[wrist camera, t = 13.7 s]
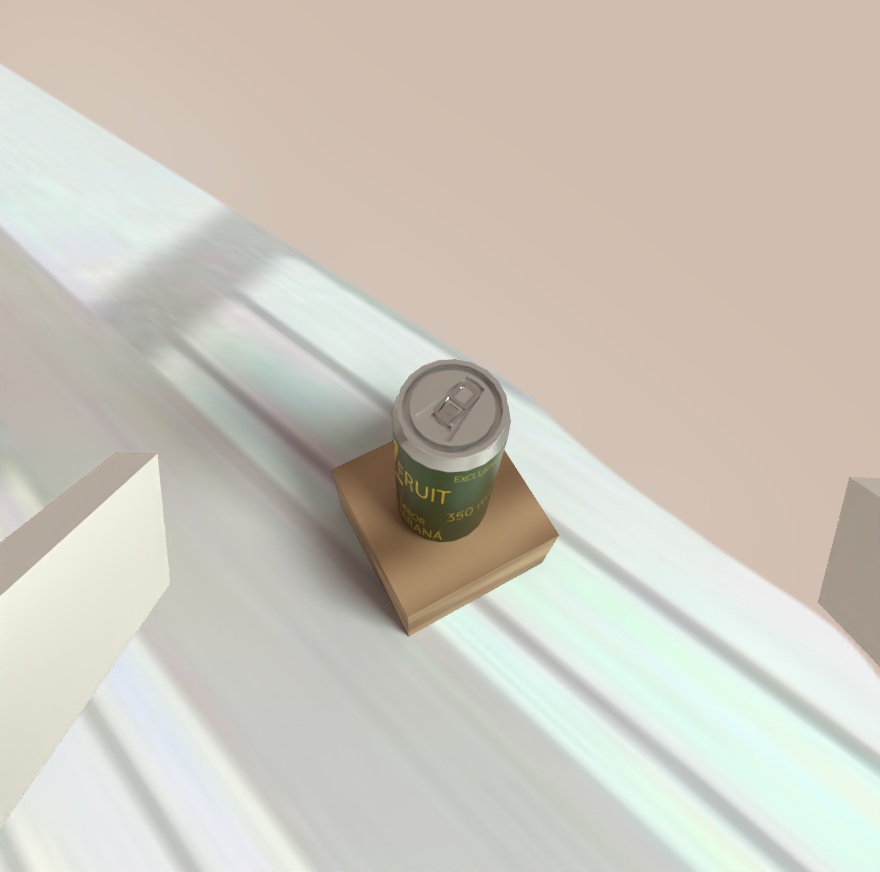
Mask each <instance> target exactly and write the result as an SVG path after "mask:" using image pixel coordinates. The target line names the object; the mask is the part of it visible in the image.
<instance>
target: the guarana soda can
mask: <svg viewBox="0 0 880 872" xmlns="http://www.w3.org/2000/svg"><path fill="white" fill-rule="evenodd" d="M392 422H393V440H394V458H395V476H396V494H397V508H398V511H399V513H400V515H401V518H402V520H403V522H404V523H405V524H406V525H407V526H408V527H409V528H410V530H411V531H412V532H414V533H415V534H417V535H419V536H421V537H422V538H424V539H427V540H431V541H435V542H451V541H456V540H458V539H461V538H463V537H466V536H468V535H469V534H470V533H471V532H472V531H474V530H475V529H476V528H477V527H478V526H479V524H480V523H481V521H482V519H483V518H484V516H485V514H486V511H487V507H488V504H489V500H490V497H491V493H492V490H493V487H494V483H495V480H496V476H497V473H498V469H499V466H500V462H501V459H502V456H503V452H504V449H505V445H506V442H507V438H508V434H509V429H510V423H511V420H510V413H509V407H508V404H507V398H506V394H505V393H504V391H503V389H502V387H501V385H500V383H499V382H498V381H497V380H496V379H495V378H494V377H493V376H492V375H491V374H490V373H489V372H488V371H487V370H485V369H483V368H481V367H479V366H477V365H475V364H473V363H470V362H466V361H461V360H456V359H454V360H438V361H436V362H433V363H430V364H427V365H424V366H422V367H421V368H419V369H418V370H417V371H415V372H414V373H413V374H411V375H410V376H409V377H408V379H407V380H406V382H405V383H404V384H403V386H402V387H401V389H400V393H399V395H398V396H397V398H396V401H395V405H394V408H393V412H392Z"/></svg>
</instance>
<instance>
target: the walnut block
mask: <svg viewBox="0 0 880 872" xmlns="http://www.w3.org/2000/svg"><path fill="white" fill-rule="evenodd" d="M332 473H333V477H334V480H335V484H336V488H337V491H338V495H339V499H340V502H341V505H342V507H343V509H344V511H345V513H346V515H347V517H348V519H349V521H350V523H351V525H352V527H353V529H354V531H355V533H356V534H357V536H358V538H359V540H360V542H361V544H362V546H363V548H364V550H365V552H366V554H367V556H368V558H369V560H370V562H371V564H372V566H373V568H374V570H375V571H376V573H377V575H378V577H379V579H380V581H381V583H382V585H383V587H384V589H385V591H386V593H387V595H388V597H389V599H390V601H391V603H392V605H393V607H394V608H395V610H396V612H397V614H398V616H399V618H400V620H401V622H402V624H403V626H404V628H405V630H406V632H407V634H408V636H410V635H412V634H414V633H415V632H417V631H419V630H421V629H423V628H424V627H426V626H428V625H430V624H432V623H434V622H435V621H437V620H439V619H441V618H443V617H444V616H446V615H448V614H450V613H452V612H453V611H455V610H457V609H459V608H461V607H463V606H464V605H466V604H468V603H470V602H472V601H473V600H475V599H477V598H479V597H481V596H482V595H484V594H486V593H488V592H490V591H492V590H493V589H495V588H497V587H499V586H501V585H502V584H504V583H506V582H508V581H510V580H511V579H513V578H515V577H517V576H519V575H521V574H522V573H524V572H526V571H528V570H530V569H531V568H533V567H535V566H537V565H539V564H540V563H542V562H543V560H544V558H545V557H546V555H547V554H548V552H549V550H550V549H551V547H552V545H553V544H554V542H555V541H556V539H557V537H558V536H559V534H558V533H557V531H556V530H555V528H554V526H553V525H552V523H551V522H550V520H549V519H548V517H547V516H546V514H545V513H544V511H543V509H542V508H541V506H540V505H539V503H538V502H537V500H536V499H535V497H534V495H533V494H532V492H531V491H530V489H529V488H528V486H527V485H526V483H525V481H524V480H523V478H522V477H521V475H520V474H519V472H518V471H517V469H516V467H515V466H514V464H513V463H512V461H511V460H510V458H509V457H508V455H507V453H506V452H505V450H504V452H503V456H502V459H501V462H500V466H499V469H498V473H497V476H496V480H495V483H494V487H493V490H492V493H491V497H490V500H489V504H488V507H487V511H486V514H485V516H484V518H483V519H482V521H481V523H480V524H479V526H478V527H477V528H476V529H475V530H474V531H472V532H471V533H470V534H469V535H468V536H466V537H463V538H461V539H458V540H456V541H451V542H435V541H431V540H427V539H424V538H422V537H421V536H419V535H417V534H415V533H414V532H412V531H411V530H410V528H409V527H408V526H407V525H406V524H405V523H404V522H403V520H402V518H401V515H400V513H399V511H398V508H397V494H396V476H395V458H394V441H392V442H390V443H388V444H386V445H384V446H382V447H379V448H377V449H375V450H373V451H371V452H369V453H367V454H365V455H362V456H360V457H358V458H356V459H354V460H352V461H350V462H348V463H345V464H343V465H341V466H339V467H337V468H335V469H333V470H332Z"/></svg>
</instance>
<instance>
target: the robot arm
mask: <svg viewBox="0 0 880 872" xmlns="http://www.w3.org/2000/svg"><path fill="white" fill-rule="evenodd" d="M169 584H170V575H169V565H168V555H167V545H166V535H165V525H164V516H163V506H162V496H161V486H160V476H159V466H158V456H157V454H147V453H117V452H116V453H115V454H113V455H112V456H111V457H109V458H108V459H107V460H106V461H104V462H103V463H102V464H101V465H99V466H98V467H97V468H95V469H94V470H93V471H92V472H90V473H89V474H88V475H87V476H85V477H84V478H83V479H81V480H80V481H79V482H78V483H76V484H75V485H74V486H72V487H71V488H70V489H69V490H67V491H66V492H65V493H64V494H62V495H61V496H60V497H58V498H57V499H56V500H55V501H53V502H52V503H51V504H50V505H48V506H47V507H46V508H44V509H43V510H42V511H41V512H39V513H38V514H37V515H35V516H34V517H33V518H32V519H30V520H29V521H28V522H27V523H25V524H24V525H23V526H21V527H20V528H19V529H18V530H16V531H15V532H14V533H13V534H11V535H10V536H9V537H7V538H6V539H5V540H4V541H2V542H1V543H0V828H1V827H2V825H3V824H4V822H5V821H6V819H7V818H8V816H9V815H10V814H11V812H12V811H13V809H14V808H15V806H16V805H17V803H18V802H19V801H20V799H21V798H22V796H23V795H24V793H25V792H26V790H27V789H28V788H29V786H30V785H31V783H32V782H33V780H34V779H35V777H36V776H37V775H38V773H39V772H40V770H41V769H42V767H43V766H44V764H45V763H46V762H47V760H48V759H49V757H50V756H51V754H52V753H53V752H54V750H55V749H56V747H57V746H58V744H59V743H60V741H61V740H62V739H63V737H64V736H65V734H66V733H67V731H68V730H69V728H70V727H71V726H72V724H73V723H74V721H75V720H76V718H77V717H78V715H79V714H80V713H81V711H82V710H83V708H84V707H85V705H86V704H87V702H88V701H89V700H90V698H91V697H92V695H93V694H94V692H95V691H96V689H97V688H98V687H99V685H100V684H101V682H102V681H103V679H104V678H105V676H106V675H107V674H108V672H109V671H110V669H111V668H112V666H113V665H114V664H115V662H116V661H117V659H118V658H119V656H120V655H121V653H122V652H123V651H124V649H125V648H126V646H127V645H128V643H129V642H130V640H131V639H132V638H133V636H134V635H135V633H136V632H137V630H138V629H139V627H140V626H141V625H142V623H143V622H144V620H145V619H146V617H147V616H148V614H149V613H150V612H151V610H152V609H153V607H154V606H155V604H156V603H157V601H158V600H159V599H160V597H161V596H162V594H163V593H164V591H165V590H166V588H167V587H168V586H169ZM818 603H819V604H820V605H821V606H822V607H823V608H824V609H825V610H826V611H827V612H828V613H829V614H830V615H831V616H832V617H833V618H834V619H835V620H836V622H837V623H838V624H839V625H840V626H841V627H842V628H843V629H844V630H845V631H846V632H847V633H848V634H849V635H850V636H851V637H852V638H853V639H854V640H855V641H856V642H857V643H858V644H859V645H860V646H861V647H862V649H864V650H865V652H867V654H868V655H869V656H870V657H871V658H872V659H873V660H874V661H875V662H876V663H877V664H878V665H879V666H880V478H856V477H854V478H853V477H850V478H849V481H848V486H847V489H846V493H845V497H844V501H843V505H842V509H841V513H840V517H839V521H838V525H837V529H836V533H835V537H834V541H833V544H832V549H831V553H830V556H829V560H828V564H827V568H826V573H825V576H824V580H823V584H822V588H821V592H820V596H819V600H818Z"/></svg>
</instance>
